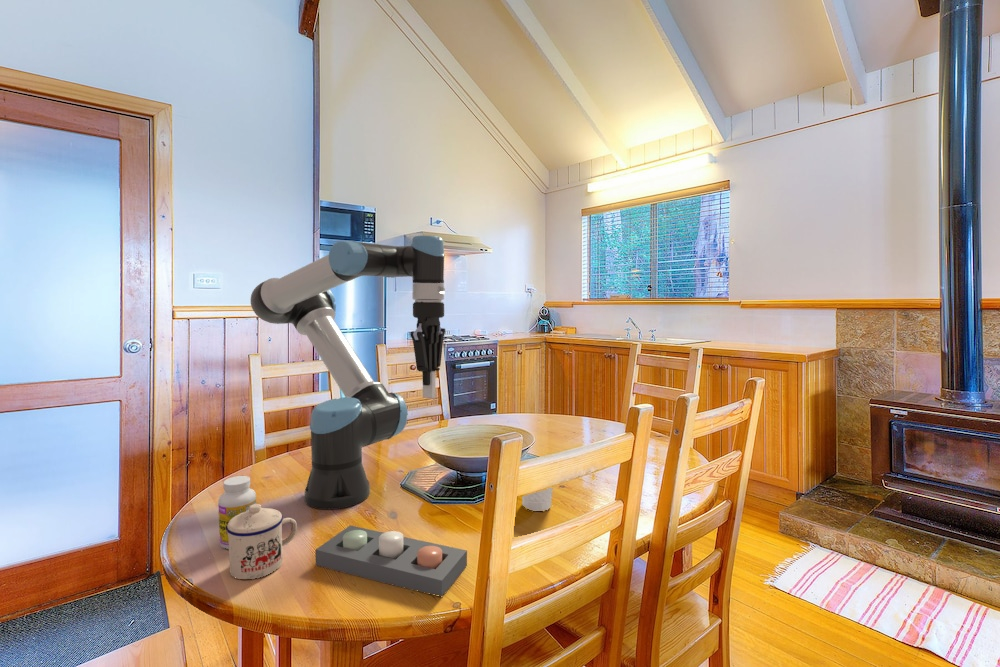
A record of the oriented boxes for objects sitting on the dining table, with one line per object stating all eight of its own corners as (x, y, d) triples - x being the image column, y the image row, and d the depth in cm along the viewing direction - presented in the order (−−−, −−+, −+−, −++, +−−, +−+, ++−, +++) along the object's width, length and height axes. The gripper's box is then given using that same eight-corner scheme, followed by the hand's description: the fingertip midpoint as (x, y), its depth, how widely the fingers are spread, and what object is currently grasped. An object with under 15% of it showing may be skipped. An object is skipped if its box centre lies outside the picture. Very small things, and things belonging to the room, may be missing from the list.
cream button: (374, 559, 88) (373, 540, 88) (387, 547, 92) (387, 529, 92) (395, 564, 87) (394, 545, 86) (408, 551, 91) (407, 533, 90)
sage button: (338, 556, 91) (337, 538, 91) (353, 545, 95) (352, 528, 95) (357, 561, 89) (357, 543, 89) (371, 549, 94) (371, 532, 93)
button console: (315, 565, 89) (315, 549, 89) (350, 539, 99) (350, 525, 98) (441, 597, 80) (441, 580, 80) (466, 565, 90) (467, 550, 89)
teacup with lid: (239, 588, 82) (236, 522, 81) (221, 567, 89) (218, 505, 87) (307, 560, 91) (306, 500, 90) (287, 542, 97) (285, 486, 96)
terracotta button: (412, 574, 85) (412, 556, 85) (425, 561, 90) (424, 543, 89) (434, 580, 84) (434, 561, 84) (446, 566, 88) (446, 548, 88)
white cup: (551, 515, 110) (552, 472, 110) (517, 511, 112) (518, 469, 111) (554, 500, 118) (555, 460, 117) (522, 497, 120) (523, 458, 119)
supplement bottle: (211, 548, 95) (208, 484, 94) (237, 532, 101) (234, 472, 100) (241, 553, 93) (238, 488, 92) (265, 536, 100) (262, 475, 99)
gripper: (428, 301, 110) (429, 404, 112) (454, 301, 122) (454, 393, 124) (400, 301, 112) (401, 401, 114) (428, 300, 124) (429, 391, 126)
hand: (429, 397), depth 119 cm, fingers closed
